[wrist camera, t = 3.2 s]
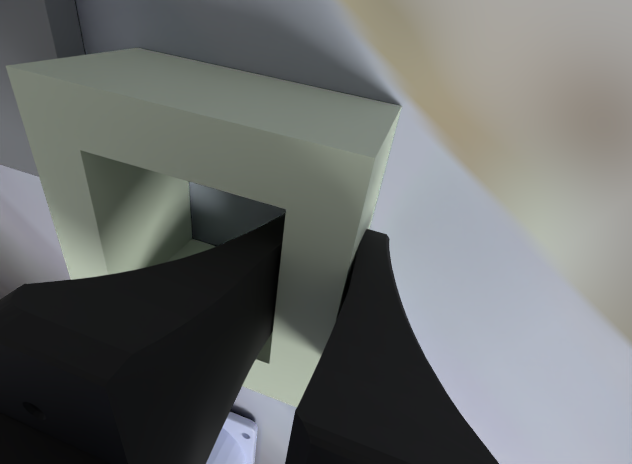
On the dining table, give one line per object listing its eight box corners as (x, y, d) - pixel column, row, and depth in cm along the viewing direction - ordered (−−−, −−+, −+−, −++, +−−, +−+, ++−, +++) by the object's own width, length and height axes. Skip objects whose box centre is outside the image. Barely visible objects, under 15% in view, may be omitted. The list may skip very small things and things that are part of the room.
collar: (345, 319, 14) (313, 414, 11) (162, 257, 16) (84, 325, 12) (401, 105, 10) (375, 158, 6) (137, 47, 11) (5, 65, 8)
